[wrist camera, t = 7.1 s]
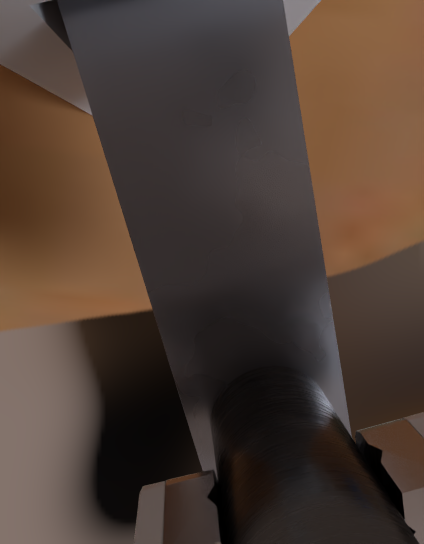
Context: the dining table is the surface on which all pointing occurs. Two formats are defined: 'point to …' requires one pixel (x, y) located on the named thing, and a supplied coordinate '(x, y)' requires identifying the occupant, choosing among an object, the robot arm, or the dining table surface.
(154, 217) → the shaft
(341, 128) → the dining table surface
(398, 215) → the dining table surface
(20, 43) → the block
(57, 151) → the dining table surface
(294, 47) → the dining table surface
